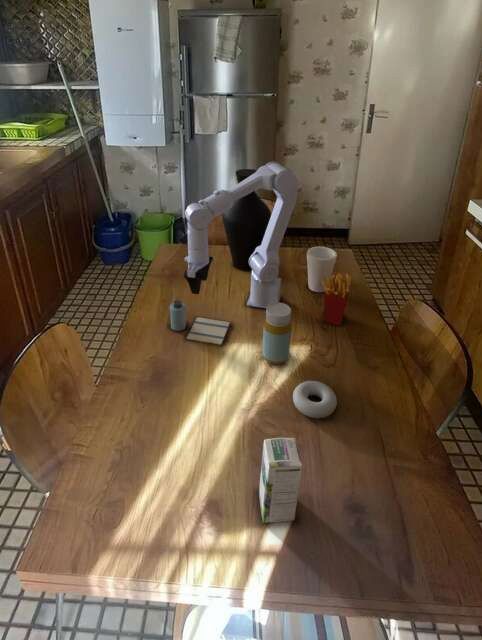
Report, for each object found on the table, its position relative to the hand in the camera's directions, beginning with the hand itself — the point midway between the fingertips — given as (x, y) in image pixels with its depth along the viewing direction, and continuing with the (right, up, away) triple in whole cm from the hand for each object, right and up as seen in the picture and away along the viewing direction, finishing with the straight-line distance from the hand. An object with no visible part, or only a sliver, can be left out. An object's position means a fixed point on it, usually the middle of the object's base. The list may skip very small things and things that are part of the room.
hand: (199, 286), depth 128 cm
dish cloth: (+3, -12, -4) cm, 13 cm away
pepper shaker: (-6, -11, -2) cm, 13 cm away
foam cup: (+39, -2, +18) cm, 43 cm away
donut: (+28, -24, -28) cm, 47 cm away
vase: (+15, +4, +32) cm, 35 cm away
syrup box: (+17, -35, -50) cm, 63 cm away
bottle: (+21, -17, -13) cm, 30 cm away
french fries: (+40, -10, +3) cm, 41 cm away
